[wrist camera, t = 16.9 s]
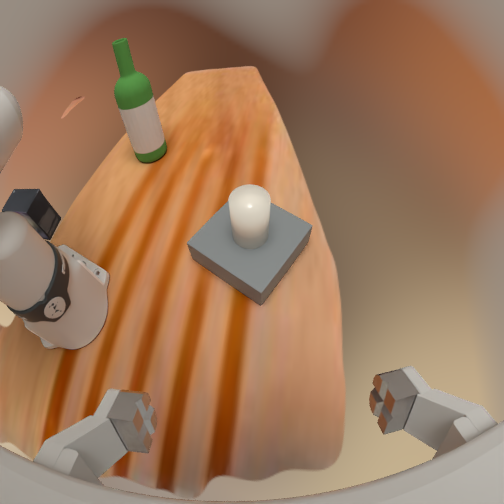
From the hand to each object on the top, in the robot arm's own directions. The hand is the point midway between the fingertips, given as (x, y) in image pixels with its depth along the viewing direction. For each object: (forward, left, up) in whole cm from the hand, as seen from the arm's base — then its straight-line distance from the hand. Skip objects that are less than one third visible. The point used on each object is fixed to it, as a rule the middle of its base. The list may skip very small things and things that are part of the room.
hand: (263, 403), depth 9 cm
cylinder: (-16, +20, -26) cm, 36 cm away
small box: (-59, -4, -32) cm, 67 cm away
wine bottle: (-51, +28, -32) cm, 66 cm away
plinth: (-16, +19, -31) cm, 40 cm away
